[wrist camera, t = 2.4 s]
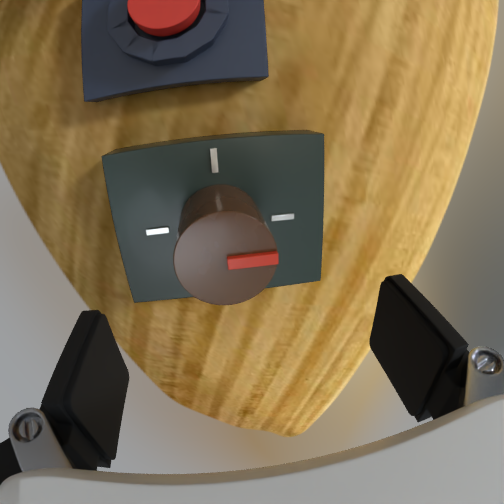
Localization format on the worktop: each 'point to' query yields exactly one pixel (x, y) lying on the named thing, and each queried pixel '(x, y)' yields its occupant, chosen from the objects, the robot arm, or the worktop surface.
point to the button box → (170, 49)
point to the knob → (223, 246)
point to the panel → (211, 173)
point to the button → (163, 15)
